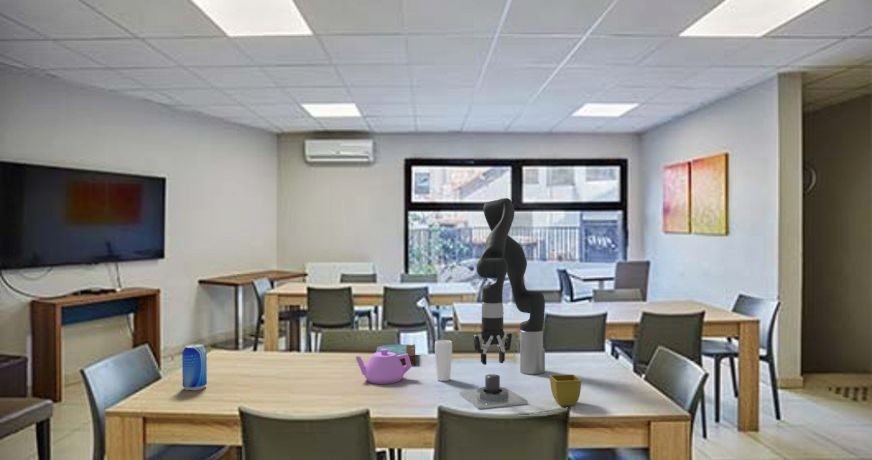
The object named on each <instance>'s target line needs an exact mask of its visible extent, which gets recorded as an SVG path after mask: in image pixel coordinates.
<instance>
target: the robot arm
mask: <svg viewBox="0 0 872 460" xmlns="http://www.w3.org/2000/svg"><path fill="white" fill-rule="evenodd" d="M482 208H483V215H484V218H485V221H486V223H487V225H488V227H489V229H490V233H489V234H488V236H487V237H486V240H485V241H486V242H485V248H484V251H483V252H482V255H480V256H479V257H480V258H479V260H478V261H477V263H476V273H477V275H478V276H479V277H480V278H482V279H483V278H484V279H496V281H495V282H494V283H491V284H486V285H484V286H483V287H482V291H481V296H482V299H481V301H482V304H481V332H480V333H479V334H473V335H472V338H473V343H474V350H475V351H476V352H477V353H479V354H480V363H481V364H482V365H484V366H485V365H487V351H488V349H489V348H490V346H492V345H496V346H497V348H498V351H499V352H498V362H499V364H504V362H505V361H506V359H505V358H506V355H505V354H506V352H507V351H510V350H511V345H512V344H511V343H512V336H513V335H512V333H511V332H508V331H507V332H505V331H504V315H505V313H504V305H503V293H504V292H503V289H504V283H505V278H506V275H507V278H508V280H509V281H508V282H509V283H510V284H509V285H510V287H511V291H512V292H511V293H512V296H513V299H514V304H515V307H516V309H517V310H518V311H519V312H521V313H524V314H529V318H528V319H527V320H524V321H522V322H521V323H519V362H520V363H519V371H520V373H522V374H525V375H540V374H543V373H546V364H545V363H546V353H545V352H546V350H545V348H544V339H543V338H544V337H543V336H544V332H543V331H544V328H543V327H544V324H545V311H546V310H545V309H546V299H545V296H544V294H543V293H542V292H541V291H536V290H528V289H527V287H526V284H525V281H524V279H525V273H526V271H527V266H528V261H527V257H526V255H525V252H524V249H523V247H522V245H520V243H518V241H516V239H514V238H512V237H511V236H510V235H509V233H510V230H511V227H512V224H513V222H514V219H515V207H514V204H513V202H512V200H511V199H510V198H509V197H507V198H505V197H504V198H500V199H495V200H491V201H487V202H485V203H484V205H483V207H482ZM503 338H504V343H503V341H502V340H503ZM481 340H483V341H482V343H481V342H480V341H481ZM480 343H481V344H480Z"/></svg>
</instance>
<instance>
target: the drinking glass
mask: <svg viewBox="0 0 872 460" xmlns="http://www.w3.org/2000/svg"><path fill="white" fill-rule="evenodd" d="M434 355H435V357H434V358H435V368H436V380H437V381H439V382H448V381H450V380H451V374H452V373H451V371H452V360H453V359H452V357H453V342H452V340H450V339H448V340H447V339H438V340H435V342H434Z"/></svg>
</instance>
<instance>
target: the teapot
mask: <svg viewBox="0 0 872 460" xmlns="http://www.w3.org/2000/svg"><path fill="white" fill-rule="evenodd" d="M402 358H405V361H406V365H402V363H401V361H400V359H402ZM355 359H356V362H357V364H358V366H359V368H360V371H361V374H362V375H363V377H365V379H366V380H367V381H368V382H369V383H371V384H376V385H377V384H378V385H389V384H396V383H398V382H400V381H401V380H402V379H403V378H404V376H405V374H406V373H407V372H408V371H409V370H410V369H411V368H412V367H413V365H412V364H411V362H410V359H409V356H408V353H406V354H401V355H396V354H395V353H393V352H388V349H381V350H380V352H377V353H376V352H374V353H373V354H372V355H371V356H370V357H369V359H368V361H367V363H365V362H364V360H363V359H362V357H361V356H360V355H359V356H358V355H356V356H355Z"/></svg>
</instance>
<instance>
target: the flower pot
mask: <svg viewBox="0 0 872 460" xmlns="http://www.w3.org/2000/svg"><path fill="white" fill-rule="evenodd" d="M549 384H550V389H551V394H552V397H553V398H554V401H555V402H556V403H557V404H558V405H559V406H561V407H563V406H572V407H573V406H576V404H577V403H578V401H579V398H580V395H581V389H582V380H581V378H579V377H577V376H576V375H575V374H574V373H573V374H572V373H571V374H570V373H569V374H549Z"/></svg>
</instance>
